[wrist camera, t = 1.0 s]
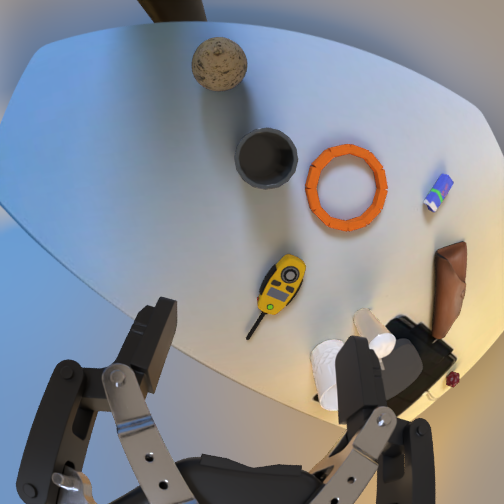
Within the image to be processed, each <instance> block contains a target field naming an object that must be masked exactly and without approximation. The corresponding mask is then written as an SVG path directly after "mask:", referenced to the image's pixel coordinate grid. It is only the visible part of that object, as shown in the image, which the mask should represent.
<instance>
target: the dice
mask: <svg viewBox="0 0 504 504" xmlns="http://www.w3.org/2000/svg"><path fill="white" fill-rule="evenodd" d="M458 383H459V373H456V372H451V373H450V374H449V375H448V376H447V377H446V385H448V386H451V387H454V386H455V385H456V384H458Z"/></svg>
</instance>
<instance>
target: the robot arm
mask: <svg viewBox="0 0 504 504" xmlns="http://www.w3.org/2000/svg"><path fill="white" fill-rule="evenodd" d="M176 327H177V301H176V300H172V299H168V298H165V297H160V298H159V300H158V302H157V304H156V306H155V307H152V306H148V305H147V306H145V307H144V308H143V309H142V310H141V311H140V312H139V313H138V315H137V317H136V319H135V321H134V324H133V325H132V327H131V329H130V331H129V333H128V335H127V337H126V339H125V342H124V344H123V346H122V348H121V350H120V352H119V354H118V357H117V358H116V360H115V361H114V362H113V363H112V364H111V365H110V366H108V367H105V368H100V369H99V368H98V369H97V368H82V367H81V366H80V365H79V363H77V362H76V361H74V360H63V361H61V362H60V363H58V364H57V366H56V367H55V369H54V371H53V373H52V376H51V378H50V381H49V383H48V385H47V388H46V390H45V392H44V395H43V397H42V400H41V403H40V405H39V408H38V410H37V413H36V416H35V419H34V421H33V424H32V428H31V430H30V434H29V436H28V440H27V443H26V446H25V450H24V453H23V457H22V460H21V464H20V468H19V472H18V477H17V481H16V488H17V492H18V494H19V496H20V498H21V499H22V500H23V501H24V502H25V503H26V504H97V503H96V502H95V501H94V499H93V496H92V486H91V483H90V481H89V479H88V478H87V476H85V474H83V473H82V468H83V463H84V459H85V455H86V452H87V448H88V444H89V440H90V437H91V433H92V430H93V427H94V423H95V420H96V417H97V413H98V411H107V412H112V415H113V417H114V420H115V423H116V426H117V433H118V437H119V439H120V442H121V444H122V447H123V449H124V451H125V454H126V456H127V458H128V461H129V463H130V465H131V467H132V469H133V472H134V474H135V476H136V478H137V480H138V482H139V484H140V486H138V487H136V488H135V489H133V490H131V491H130V492H128V493H126V494H125V495H123V496H121V497H120V498H118V499H116V500H114V501H112V502H111V503H109V504H354V503H355V501H356V500H357V499H358V497H359V496H360V494H361V493H362V492H363V490H364V489H365V487H366V486H367V484H368V483H369V481H370V480H371V478H372V477H373V475H374V474H375V472H376V470H377V496H376V504H435V466H434V453H433V441H432V433H431V427H430V425H429V423H428V422H427V421H426V420H425V419H422V418H418V419H415V420H414V421H412V422H409V421H406V420H403V419H400V418H397V417H396V415H395V413H394V412H393V411H392V410H391V409H390V408H388V407H387V403H386V396H385V390H384V384H383V379H382V373H381V370H380V363H379V358H378V356H377V355H376V353H375V351H374V350H373V349H369V344H368V340H367V338H366V337H359V336H350V337H349V338H348V340H347V341H346V342H345V344H344V345H343V346H342V348H341V349H340V350H339V352H338V353H337V355H336V359H335V372H336V384H337V399H338V417H339V424H347V429H346V430H345V431H344V433H343V434H342V435H341V437H340V438H339V439H338V441H337V442H336V443H335V445H334V446H333V447H332V449H331V450H330V451H329V452H328V454H327V455H326V456H325V457H324V458H323V459H322V460H321V461H320V462H319V463H317V464H316V465H315V466H314V467H313V468H312V469H311V470H310V472H306V471H304V470H302V466H301V465H280V464H278V465H271V466H264V467H257V468H252V467H248V466H246V465H243V464H240V463H238V462H235V461H232V460H230V459H227V458H222V457H216V456H211V455H206V454H202V455H201V457H192V458H186V459H182V460H180V461H177V462H175V463H174V461H173V459H172V457H171V455H170V453H169V451H168V449H167V447H166V446H165V443H164V441H163V439H162V437H161V435H160V433H159V431H158V429H157V427H156V425H155V423H154V420H153V418H152V416H151V414H150V412H149V409H148V407H147V405H146V402H145V398H146V396H147V393H148V392H149V393H153V394H154V393H155V390H156V387H157V384H158V380H159V378H160V375H161V372H162V369H163V366H164V363H165V360H166V357H167V354H168V351H169V349H170V346H171V343H172V340H173V337H174V335H175V331H176ZM404 458H405V467H404Z"/></svg>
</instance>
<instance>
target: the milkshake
mask: <svg viewBox="0 0 504 504" xmlns="http://www.w3.org/2000/svg"><path fill="white" fill-rule="evenodd" d="M353 321H354V323H355V325H356V327H357V330H358V332H359V334H360V336H361V337H366V338H367V340H368V344H369V349H373V350H374V351H375V353H376V355H377V356H378V358H379V362H380V366H381V369H382V370H385V368H384V365H383V362H382V359H381V358H383V357H385V356H387V355H389V354H390V353H391V351H392V350H393V348H394V346H395V343H396V339H395V336H394V335H393V334H392V333H391V332H390V331H389V330H388V329H387V328H386V327H385V326H384V325H383V324H382V323H381V322H380V321H379V320H378V319H377V318H376V316H375V315H374V314H373V313H372V312H371V311H370V310H369V309H368V308H362V309H360V310H358V311H357V312H356V313H355V314H354V319H353Z"/></svg>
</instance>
